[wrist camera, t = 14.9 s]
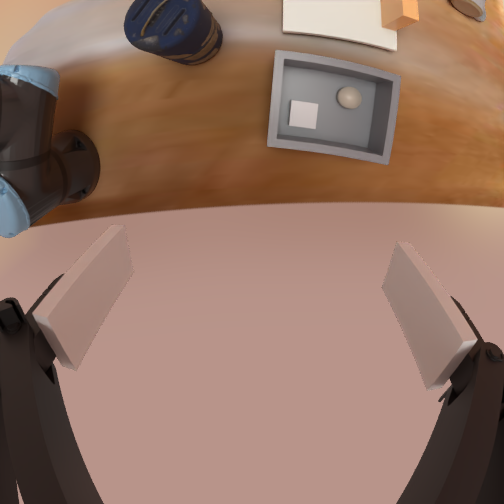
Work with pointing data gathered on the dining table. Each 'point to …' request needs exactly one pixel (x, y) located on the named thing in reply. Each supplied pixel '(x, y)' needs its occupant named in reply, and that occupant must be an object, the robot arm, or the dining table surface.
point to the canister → (173, 29)
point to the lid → (351, 19)
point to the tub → (332, 107)
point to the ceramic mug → (471, 8)
